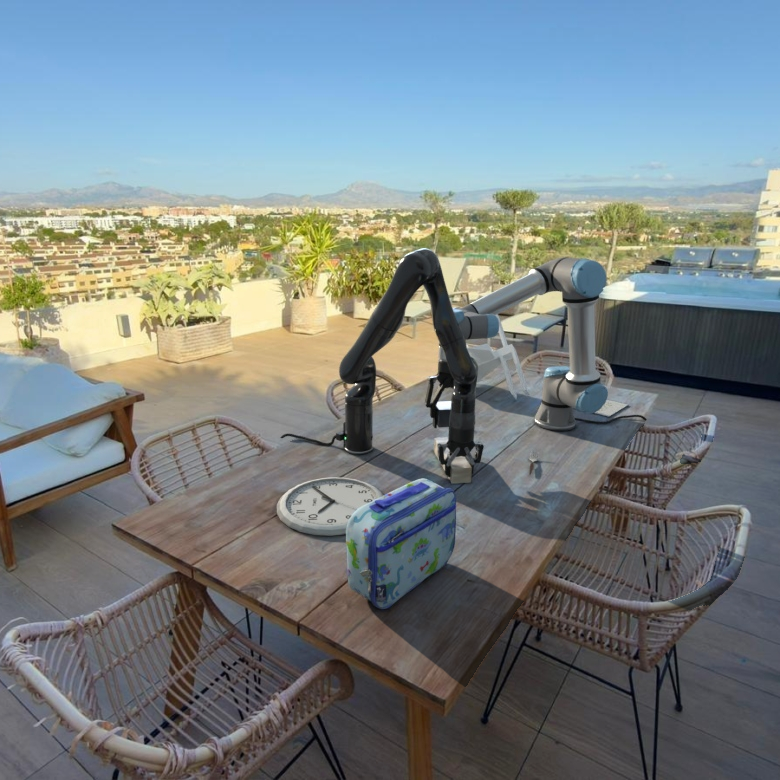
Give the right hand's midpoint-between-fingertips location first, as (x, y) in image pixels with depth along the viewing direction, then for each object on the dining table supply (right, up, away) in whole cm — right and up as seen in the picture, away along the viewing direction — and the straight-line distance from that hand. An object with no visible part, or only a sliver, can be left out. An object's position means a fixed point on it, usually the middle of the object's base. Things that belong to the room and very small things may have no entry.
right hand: (447, 425), depth 172 cm
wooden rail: (+1, -12, -5) cm, 13 cm away
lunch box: (-16, -29, -59) cm, 68 cm away
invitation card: (+73, +5, +54) cm, 90 cm away
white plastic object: (+23, +11, +71) cm, 75 cm away
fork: (+27, -13, -4) cm, 30 cm away
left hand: (+2, -14, -13) cm, 19 cm away
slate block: (0, +1, 0) cm, 1 cm away
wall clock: (-35, -20, -29) cm, 50 cm away
